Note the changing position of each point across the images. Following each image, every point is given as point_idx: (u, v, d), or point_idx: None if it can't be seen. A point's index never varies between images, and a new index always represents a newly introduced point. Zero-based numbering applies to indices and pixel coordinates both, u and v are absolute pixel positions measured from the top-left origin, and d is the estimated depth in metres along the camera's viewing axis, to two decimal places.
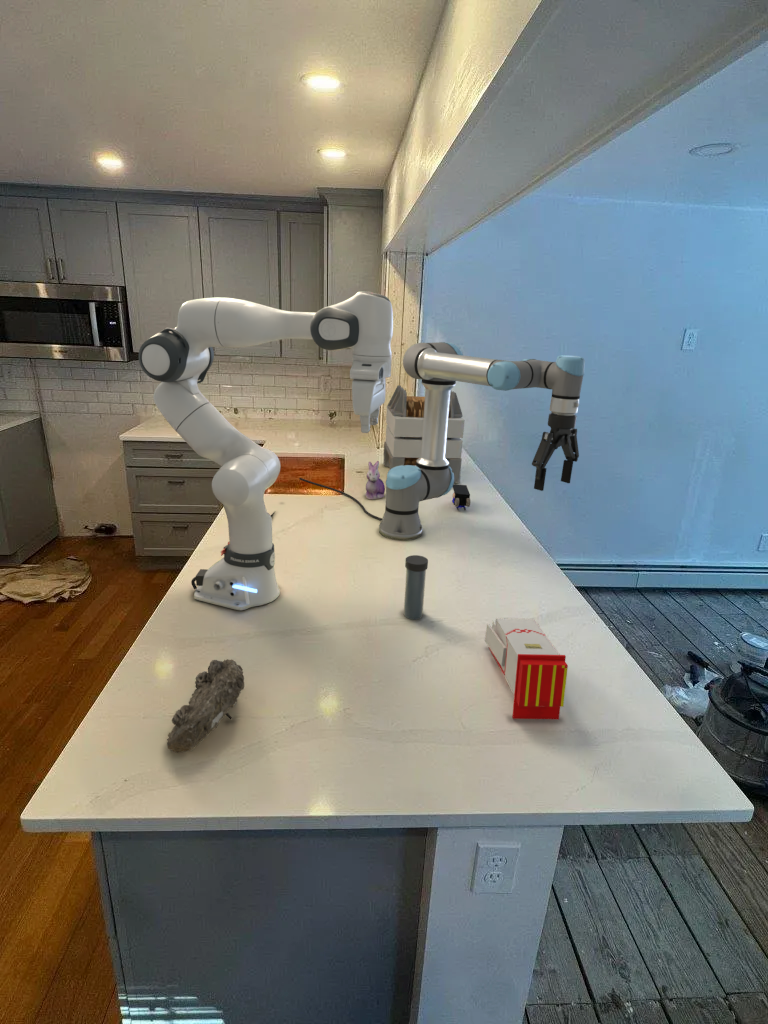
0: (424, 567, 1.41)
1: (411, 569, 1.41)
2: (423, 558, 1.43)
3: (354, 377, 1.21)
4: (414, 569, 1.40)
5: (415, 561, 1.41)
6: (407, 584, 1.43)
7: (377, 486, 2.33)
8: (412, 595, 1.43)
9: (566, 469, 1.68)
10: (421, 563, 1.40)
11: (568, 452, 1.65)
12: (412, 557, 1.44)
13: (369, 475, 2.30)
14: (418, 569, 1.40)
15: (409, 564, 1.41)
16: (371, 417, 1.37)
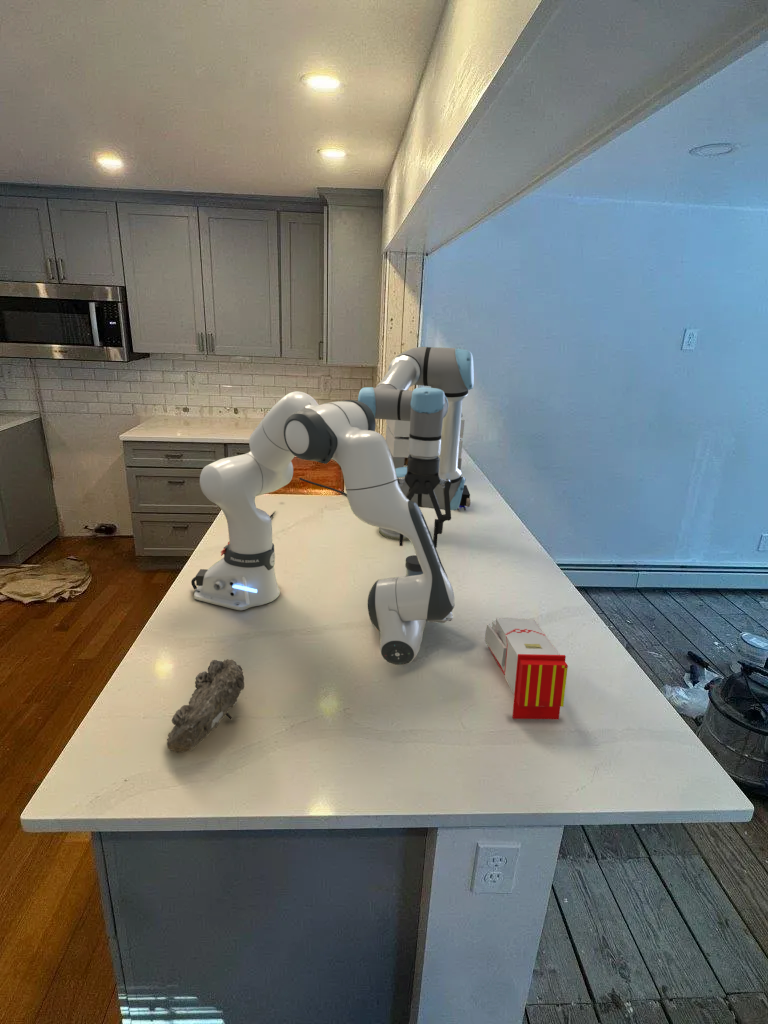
0: None
1: (411, 569, 1.41)
2: None
3: None
4: (414, 569, 1.40)
5: (415, 561, 1.41)
6: None
7: None
8: None
9: None
10: None
11: None
12: (412, 557, 1.44)
13: None
14: (418, 569, 1.40)
15: (409, 564, 1.41)
16: None
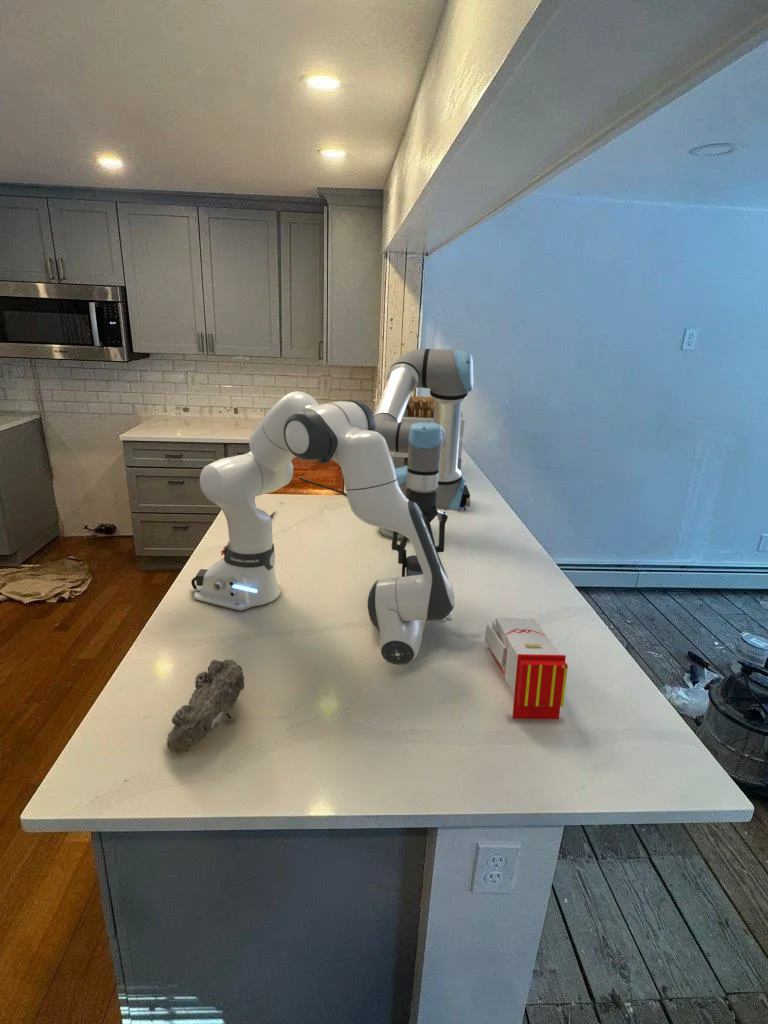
0: None
1: (411, 569, 1.41)
2: None
3: None
4: (414, 569, 1.40)
5: (415, 561, 1.41)
6: None
7: None
8: None
9: None
10: None
11: None
12: (412, 557, 1.44)
13: None
14: (418, 569, 1.40)
15: (409, 564, 1.41)
16: None
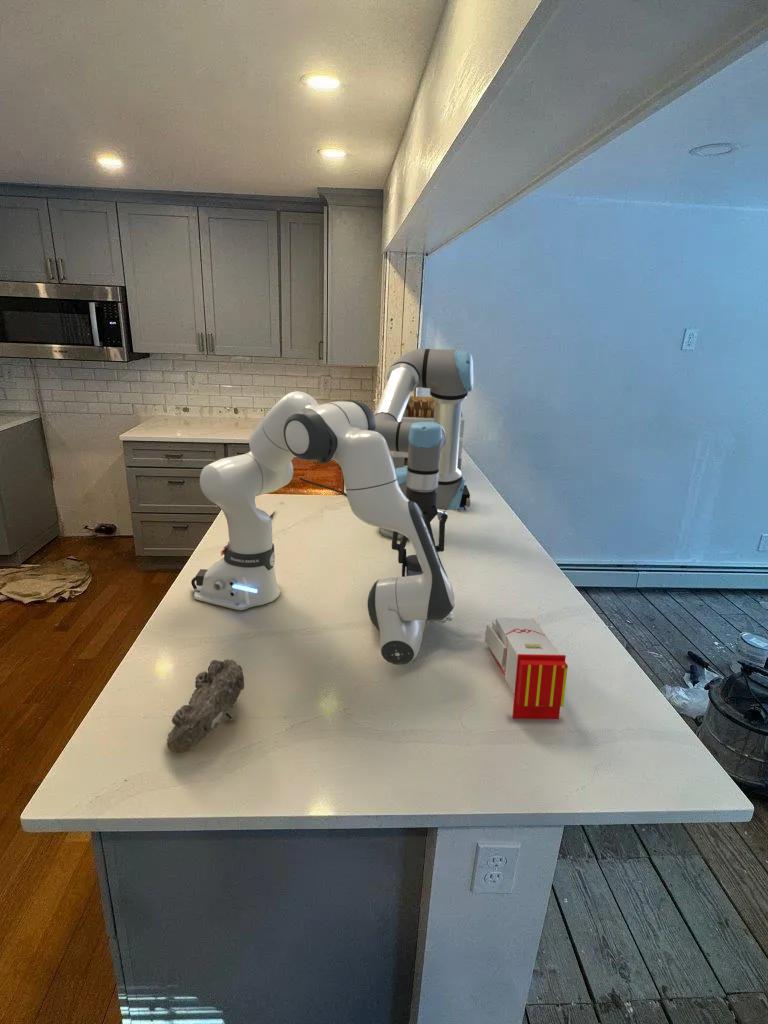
0: None
1: None
2: (409, 557, 1.43)
3: None
4: None
5: None
6: None
7: None
8: None
9: None
10: None
11: None
12: (415, 561, 1.41)
13: None
14: None
15: None
16: None
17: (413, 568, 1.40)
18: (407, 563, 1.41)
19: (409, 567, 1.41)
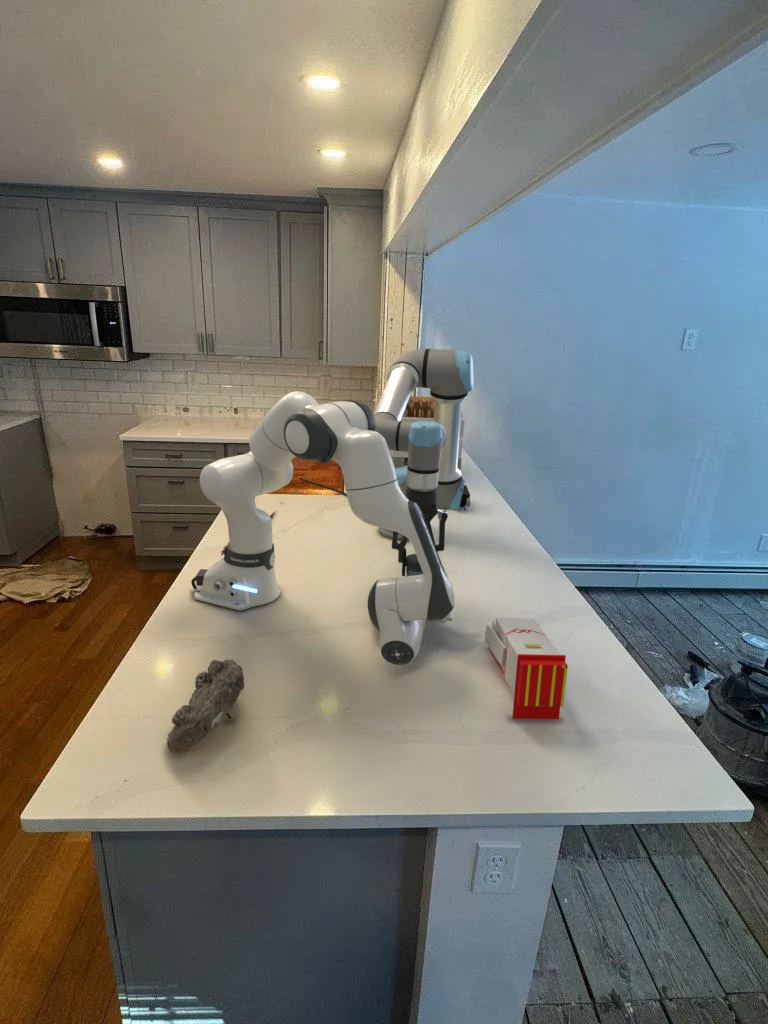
0: (406, 563, 1.42)
1: None
2: (418, 561, 1.40)
3: None
4: None
5: (413, 557, 1.43)
6: None
7: None
8: None
9: None
10: (407, 558, 1.42)
11: None
12: None
13: None
14: None
15: None
16: None
17: None
18: None
19: None
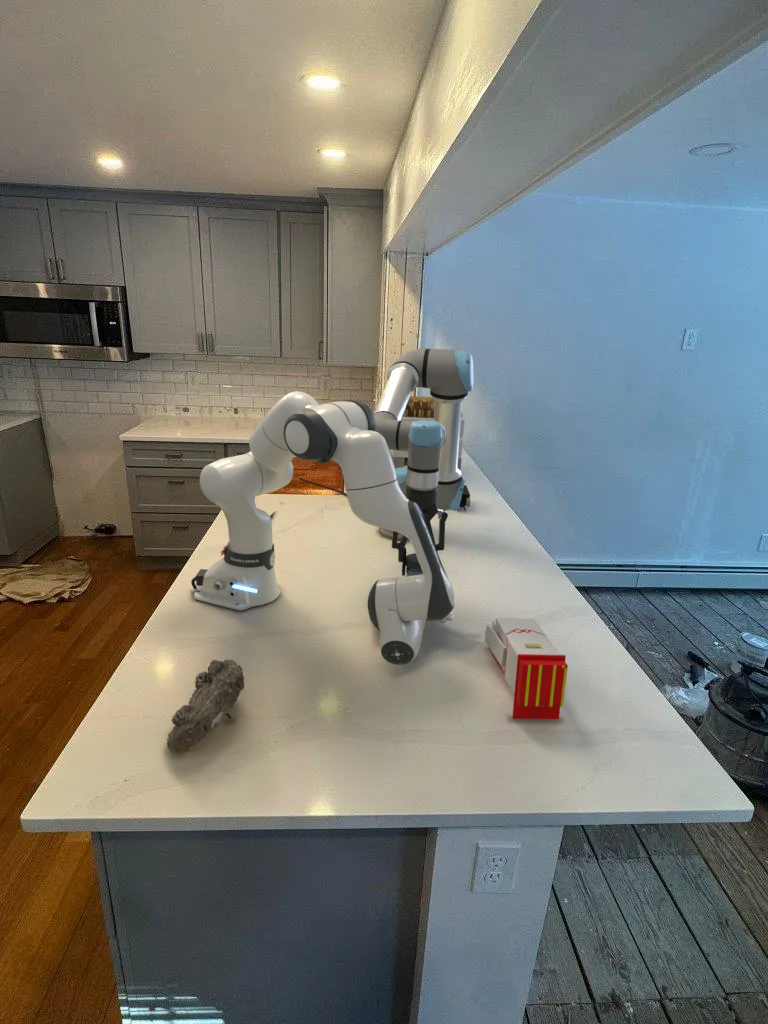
0: None
1: (413, 567, 1.40)
2: None
3: None
4: (416, 567, 1.40)
5: (416, 559, 1.41)
6: None
7: None
8: None
9: None
10: None
11: None
12: (411, 555, 1.43)
13: None
14: (420, 567, 1.40)
15: (411, 563, 1.40)
16: None
17: None
18: None
19: None
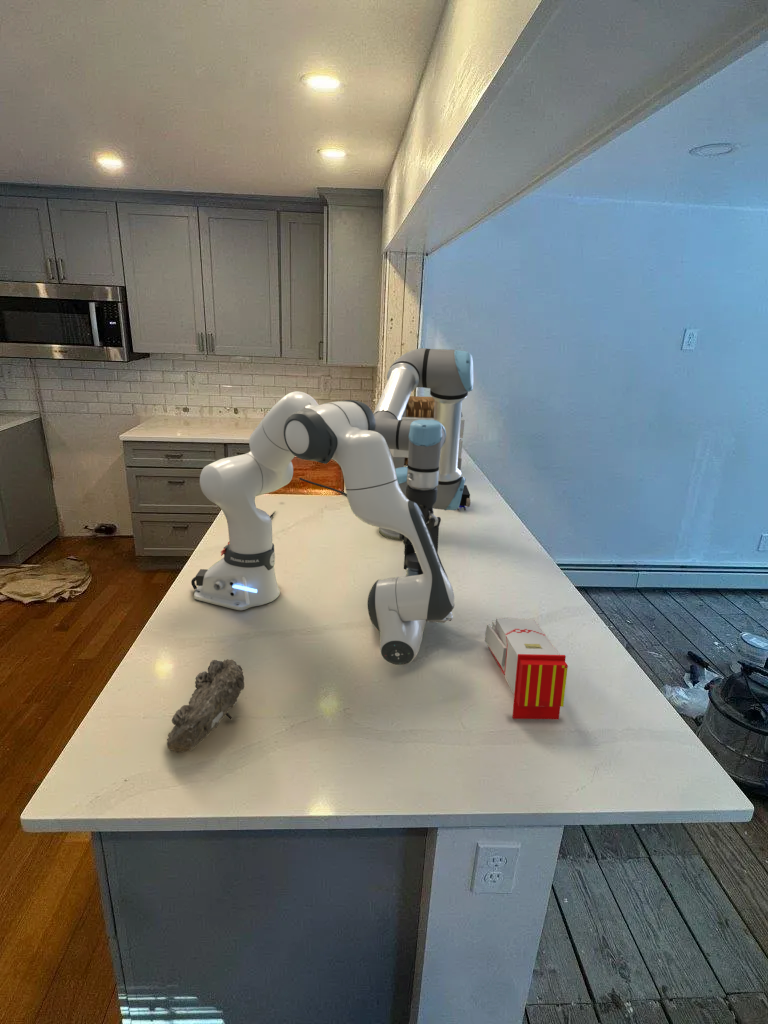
0: None
1: None
2: (409, 556, 1.43)
3: None
4: None
5: None
6: None
7: None
8: None
9: None
10: None
11: None
12: (416, 560, 1.41)
13: None
14: None
15: None
16: None
17: (414, 566, 1.40)
18: (408, 562, 1.41)
19: (410, 566, 1.40)
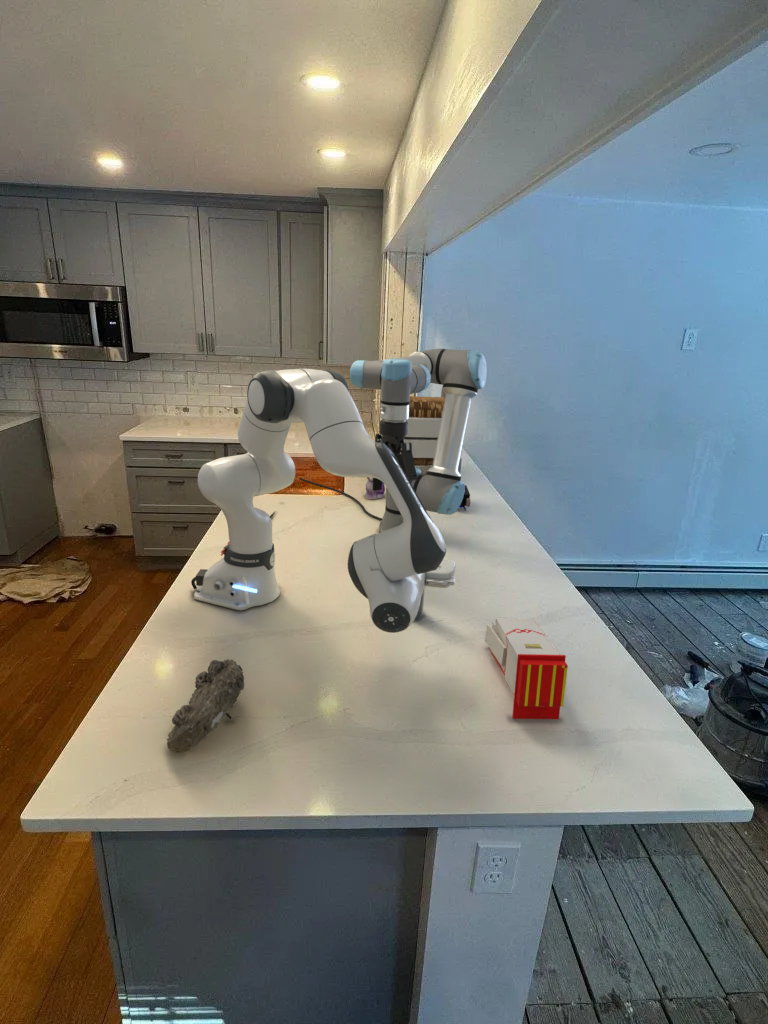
0: None
1: None
2: None
3: None
4: None
5: None
6: None
7: None
8: None
9: None
10: None
11: None
12: None
13: None
14: None
15: None
16: None
17: None
18: None
19: None
